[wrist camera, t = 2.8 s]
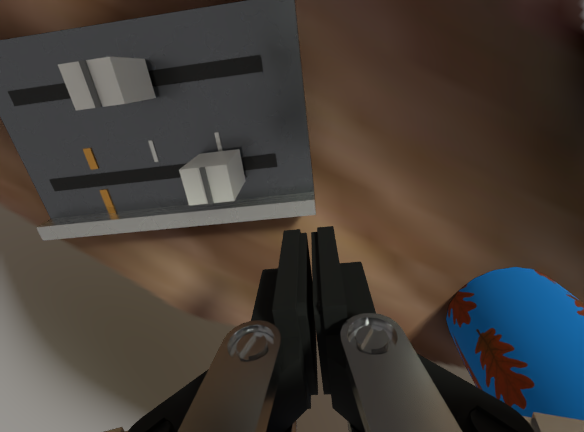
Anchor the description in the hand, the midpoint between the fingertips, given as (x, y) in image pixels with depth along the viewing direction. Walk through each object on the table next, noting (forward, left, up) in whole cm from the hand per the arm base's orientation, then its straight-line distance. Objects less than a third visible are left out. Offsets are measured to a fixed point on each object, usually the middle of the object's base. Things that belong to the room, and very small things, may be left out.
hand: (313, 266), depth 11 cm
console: (+11, -3, -16) cm, 19 cm away
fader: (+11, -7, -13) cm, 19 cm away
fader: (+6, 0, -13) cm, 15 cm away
